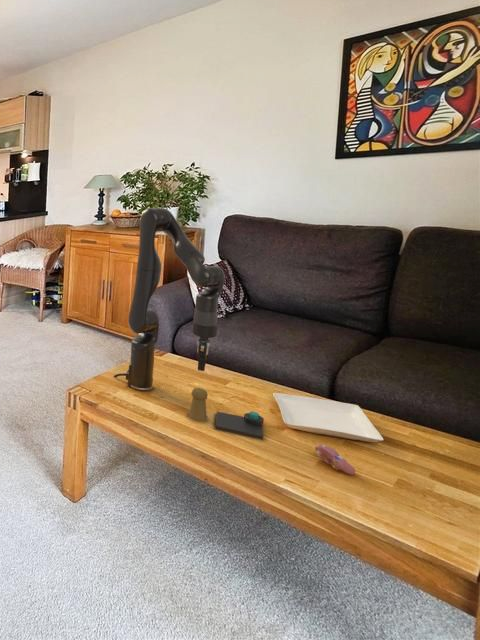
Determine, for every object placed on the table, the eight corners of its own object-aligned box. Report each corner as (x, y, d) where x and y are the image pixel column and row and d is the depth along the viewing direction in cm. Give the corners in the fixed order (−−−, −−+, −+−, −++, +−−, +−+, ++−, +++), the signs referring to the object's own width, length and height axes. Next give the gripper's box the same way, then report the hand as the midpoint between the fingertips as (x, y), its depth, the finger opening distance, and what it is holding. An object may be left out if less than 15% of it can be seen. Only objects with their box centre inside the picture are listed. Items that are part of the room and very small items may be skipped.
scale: (215, 429, 165) (216, 421, 165) (216, 413, 176) (217, 406, 176) (264, 440, 158) (264, 432, 158) (262, 423, 169) (263, 415, 169)
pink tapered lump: (317, 461, 148) (309, 443, 147) (330, 455, 148) (322, 437, 147) (344, 481, 139) (336, 462, 138) (358, 474, 139) (350, 455, 138)
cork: (203, 414, 176) (205, 386, 174) (209, 422, 170) (212, 393, 168) (186, 413, 176) (188, 385, 175) (192, 421, 170) (194, 392, 169)
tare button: (248, 418, 167) (249, 414, 167) (248, 415, 170) (249, 410, 169) (258, 420, 166) (259, 416, 165) (258, 417, 168) (258, 412, 168)
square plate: (356, 413, 176) (358, 403, 176) (383, 450, 152) (385, 439, 151) (271, 399, 188) (272, 390, 187) (283, 432, 163) (284, 421, 162)
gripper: (195, 315, 175) (191, 359, 178) (191, 325, 163) (188, 372, 166) (217, 318, 172) (214, 363, 174) (216, 329, 159) (212, 376, 162)
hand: (201, 367), depth 170 cm, fingers open, 5 cm apart
